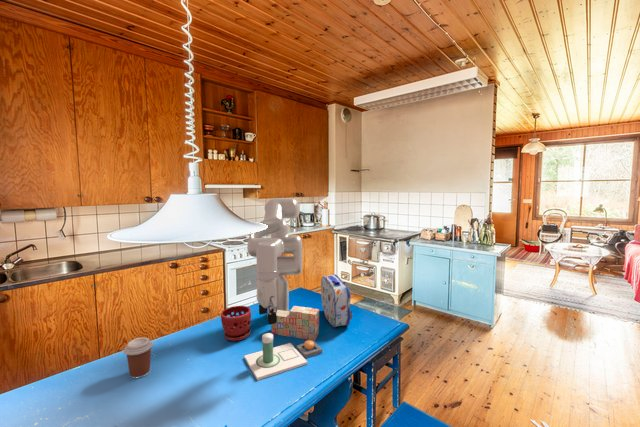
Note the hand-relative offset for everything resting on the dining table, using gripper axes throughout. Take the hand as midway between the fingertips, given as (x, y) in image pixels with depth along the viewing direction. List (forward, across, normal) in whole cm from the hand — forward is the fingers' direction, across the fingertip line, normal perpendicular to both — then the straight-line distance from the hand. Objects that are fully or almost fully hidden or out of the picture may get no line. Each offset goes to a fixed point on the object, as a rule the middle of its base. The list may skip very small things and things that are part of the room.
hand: (267, 318), depth 119 cm
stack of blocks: (+19, -16, +19) cm, 31 cm away
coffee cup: (+18, -17, -43) cm, 50 cm away
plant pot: (+18, -27, -5) cm, 33 cm away
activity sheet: (+18, 0, +3) cm, 18 cm away
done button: (+17, 0, +18) cm, 24 cm away
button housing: (+18, 0, +18) cm, 25 cm away
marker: (+17, 0, 0) cm, 17 cm away
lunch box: (+18, -20, +44) cm, 51 cm away
